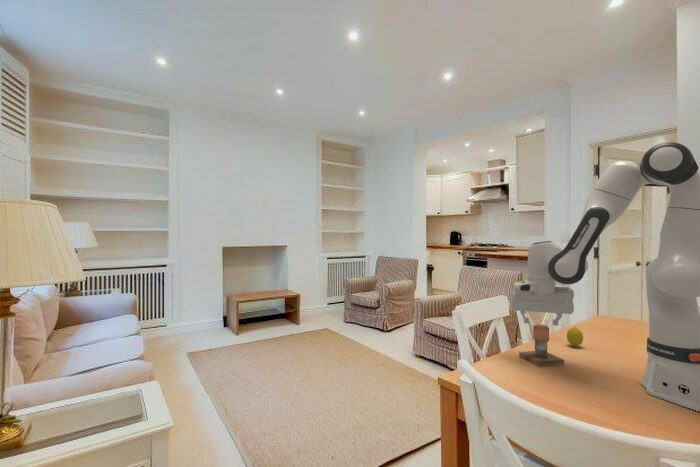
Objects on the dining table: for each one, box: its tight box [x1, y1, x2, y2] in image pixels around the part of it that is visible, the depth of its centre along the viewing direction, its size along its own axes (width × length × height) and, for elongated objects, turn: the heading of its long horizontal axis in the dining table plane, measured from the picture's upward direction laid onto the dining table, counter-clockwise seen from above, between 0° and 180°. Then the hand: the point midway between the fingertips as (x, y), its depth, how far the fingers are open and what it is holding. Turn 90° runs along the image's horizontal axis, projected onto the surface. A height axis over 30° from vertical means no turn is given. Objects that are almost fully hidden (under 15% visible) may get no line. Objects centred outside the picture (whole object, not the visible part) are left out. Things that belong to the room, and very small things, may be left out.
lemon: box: [566, 326, 584, 348], centre depth 136 cm, size 6×6×8 cm
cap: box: [532, 324, 550, 343], centre depth 122 cm, size 5×5×5 cm
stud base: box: [518, 340, 565, 368], centre depth 122 cm, size 10×10×8 cm
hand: (540, 324), depth 122 cm, fingers open, 8 cm apart
